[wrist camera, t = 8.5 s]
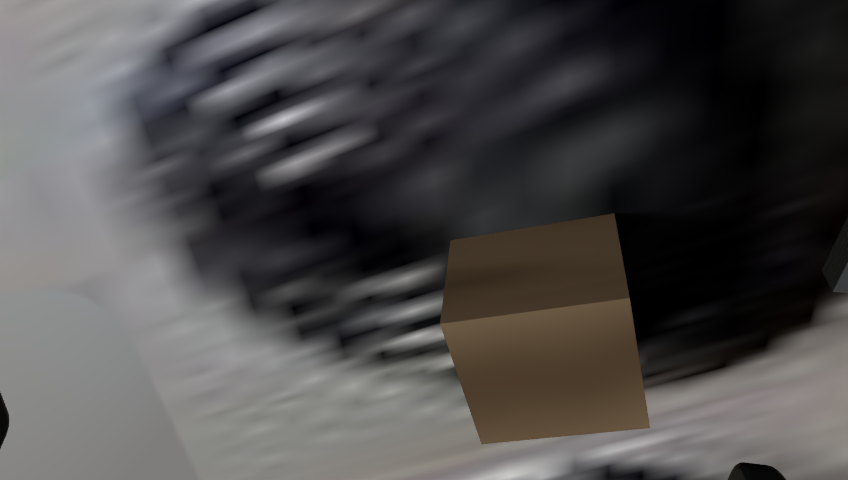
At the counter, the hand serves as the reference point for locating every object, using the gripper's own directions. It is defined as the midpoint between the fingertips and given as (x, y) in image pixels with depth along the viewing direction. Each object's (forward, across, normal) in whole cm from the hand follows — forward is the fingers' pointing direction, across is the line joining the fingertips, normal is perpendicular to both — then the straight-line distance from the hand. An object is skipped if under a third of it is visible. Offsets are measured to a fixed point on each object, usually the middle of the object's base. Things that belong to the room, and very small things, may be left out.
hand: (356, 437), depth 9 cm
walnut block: (+13, -4, +8) cm, 16 cm away
